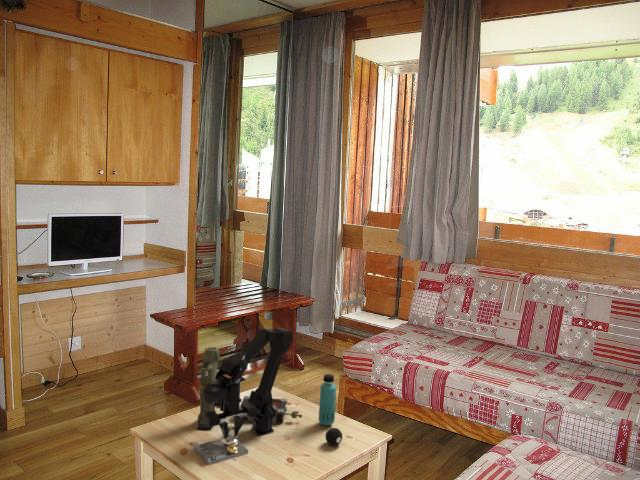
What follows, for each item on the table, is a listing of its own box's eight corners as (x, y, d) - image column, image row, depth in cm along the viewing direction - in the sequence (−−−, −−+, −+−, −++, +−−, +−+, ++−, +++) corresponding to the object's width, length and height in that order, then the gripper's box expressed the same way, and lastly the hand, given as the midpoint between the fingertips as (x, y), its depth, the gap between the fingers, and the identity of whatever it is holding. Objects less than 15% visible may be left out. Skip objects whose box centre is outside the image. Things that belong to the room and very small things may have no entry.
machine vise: (244, 406, 226) (244, 394, 226) (304, 410, 225) (304, 399, 224) (236, 422, 212) (237, 409, 211) (300, 427, 210) (301, 414, 210)
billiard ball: (331, 450, 193) (332, 434, 193) (322, 443, 198) (322, 427, 198) (345, 446, 197) (346, 430, 196) (335, 439, 202) (336, 423, 201)
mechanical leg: (211, 432, 200) (217, 349, 203) (192, 431, 200) (198, 348, 203) (218, 424, 213) (224, 347, 217) (200, 423, 213) (206, 345, 217)
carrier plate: (232, 438, 198) (232, 429, 198) (248, 453, 188) (248, 443, 188) (193, 448, 189) (193, 439, 189) (207, 464, 180) (208, 454, 179)
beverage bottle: (320, 429, 209) (323, 379, 206) (316, 421, 215) (318, 372, 213) (336, 427, 211) (339, 378, 208) (331, 420, 217) (334, 371, 215)
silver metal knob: (233, 437, 197) (234, 422, 196) (241, 444, 192) (242, 429, 192) (218, 441, 194) (219, 426, 193) (226, 448, 189) (226, 433, 188)
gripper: (244, 382, 203) (243, 422, 205) (197, 392, 192) (196, 434, 194) (259, 393, 194) (257, 434, 196) (210, 403, 183) (209, 447, 185)
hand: (230, 437), depth 193 cm, fingers open, 4 cm apart
